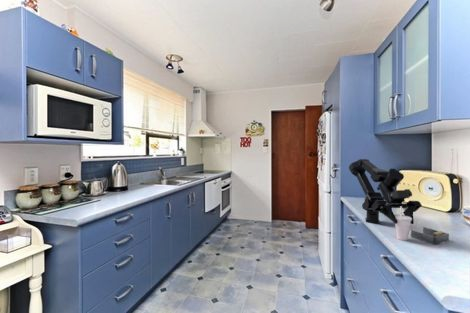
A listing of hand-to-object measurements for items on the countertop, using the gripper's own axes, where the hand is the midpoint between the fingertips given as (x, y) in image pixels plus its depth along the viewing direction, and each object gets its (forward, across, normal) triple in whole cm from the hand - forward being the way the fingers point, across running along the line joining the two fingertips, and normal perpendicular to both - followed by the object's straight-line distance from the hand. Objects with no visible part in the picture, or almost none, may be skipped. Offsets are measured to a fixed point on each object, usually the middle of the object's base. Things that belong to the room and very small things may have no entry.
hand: (404, 223), depth 94 cm
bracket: (+3, +12, +7) cm, 14 cm away
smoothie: (+4, 0, +6) cm, 7 cm away
